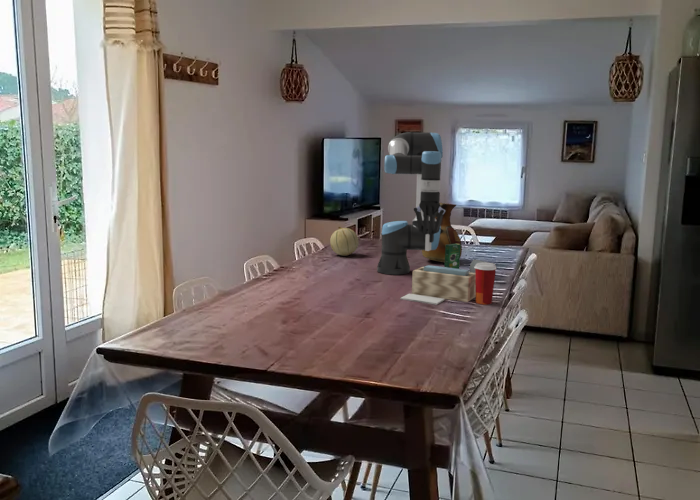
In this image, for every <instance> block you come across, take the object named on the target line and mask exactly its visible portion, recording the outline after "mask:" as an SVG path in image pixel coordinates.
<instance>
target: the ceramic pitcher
mask: <svg viewBox="0 0 700 500" xmlns="http://www.w3.org/2000/svg"><path fill="white" fill-rule="evenodd" d="M439 203H440V207H441V208H442V209H445V210H446V212H445V213H444V215H443V218H442V221H441V225H440V226H441V231H440V238H439V243H438V247H437V249H435V250H430V251H425V250H421V254H422V255H421V256H423V258H425V259H428V260H430V261H435V262H440V263H445V247H446V245H448V244H461V248H460V258H461V257H462V253H463V252H462V251H463V245H462V240H461V237H460V235H459V234H458V232H457V230H456V229H455V228H454V227H453V226H452V223H451V215H452V211H453V209H455V208H456V206H457V204H452V203H443V202H441V201H439ZM438 211H439V210H438ZM438 211H437V212H436V215H435V219H436V220H437V217H438V214H439V212H438Z"/></svg>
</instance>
